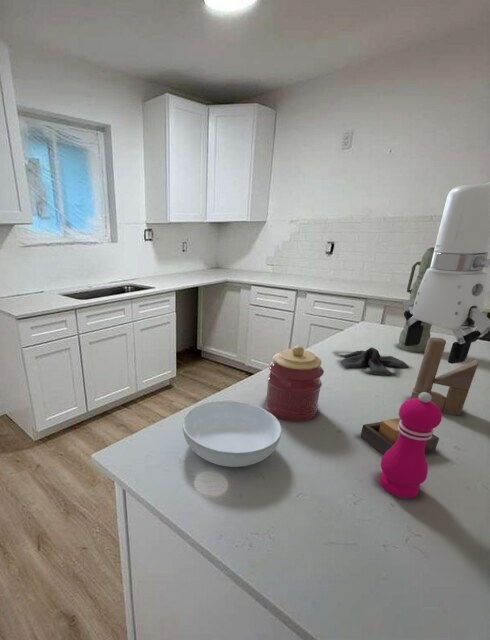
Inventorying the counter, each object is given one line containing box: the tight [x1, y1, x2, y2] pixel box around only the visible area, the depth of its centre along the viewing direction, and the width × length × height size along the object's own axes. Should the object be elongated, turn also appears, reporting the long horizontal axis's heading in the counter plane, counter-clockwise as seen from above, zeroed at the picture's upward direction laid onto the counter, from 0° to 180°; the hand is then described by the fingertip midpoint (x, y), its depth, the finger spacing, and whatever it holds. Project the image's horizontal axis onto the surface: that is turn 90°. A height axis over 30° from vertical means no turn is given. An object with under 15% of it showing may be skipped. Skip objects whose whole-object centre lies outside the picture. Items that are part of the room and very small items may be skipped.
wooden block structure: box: [409, 336, 479, 416], centre depth 90 cm, size 4×11×18 cm, turn 52°
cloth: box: [339, 347, 409, 377], centre depth 119 cm, size 22×19×6 cm
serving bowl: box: [181, 400, 283, 468], centre depth 78 cm, size 21×21×7 cm
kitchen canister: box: [264, 345, 325, 422], centre depth 91 cm, size 13×13×18 cm
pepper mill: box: [378, 392, 443, 499], centre depth 64 cm, size 7×7×20 cm
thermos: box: [397, 247, 435, 353], centre depth 124 cm, size 9×12×35 cm
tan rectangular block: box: [379, 417, 401, 443], centre depth 78 cm, size 7×4×5 cm, turn 103°
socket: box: [360, 421, 440, 456], centre depth 79 cm, size 12×8×4 cm
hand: (432, 353), depth 70 cm, fingers open, 9 cm apart
